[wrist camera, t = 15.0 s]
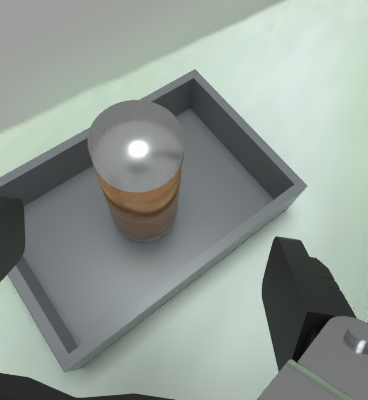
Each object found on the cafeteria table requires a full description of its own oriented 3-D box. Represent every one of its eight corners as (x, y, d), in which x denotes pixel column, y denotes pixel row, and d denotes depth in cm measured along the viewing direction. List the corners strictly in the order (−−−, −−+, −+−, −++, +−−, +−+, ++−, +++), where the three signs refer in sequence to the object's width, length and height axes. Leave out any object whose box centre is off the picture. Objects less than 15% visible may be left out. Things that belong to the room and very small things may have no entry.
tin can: (180, 189, 35) (190, 106, 23) (171, 248, 33) (178, 189, 21) (120, 180, 35) (99, 93, 23) (106, 238, 33) (75, 174, 21)
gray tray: (190, 104, 40) (195, 69, 35) (286, 209, 36) (307, 186, 31) (-8, 220, 33) (-38, 198, 28) (81, 368, 29) (64, 372, 24)
